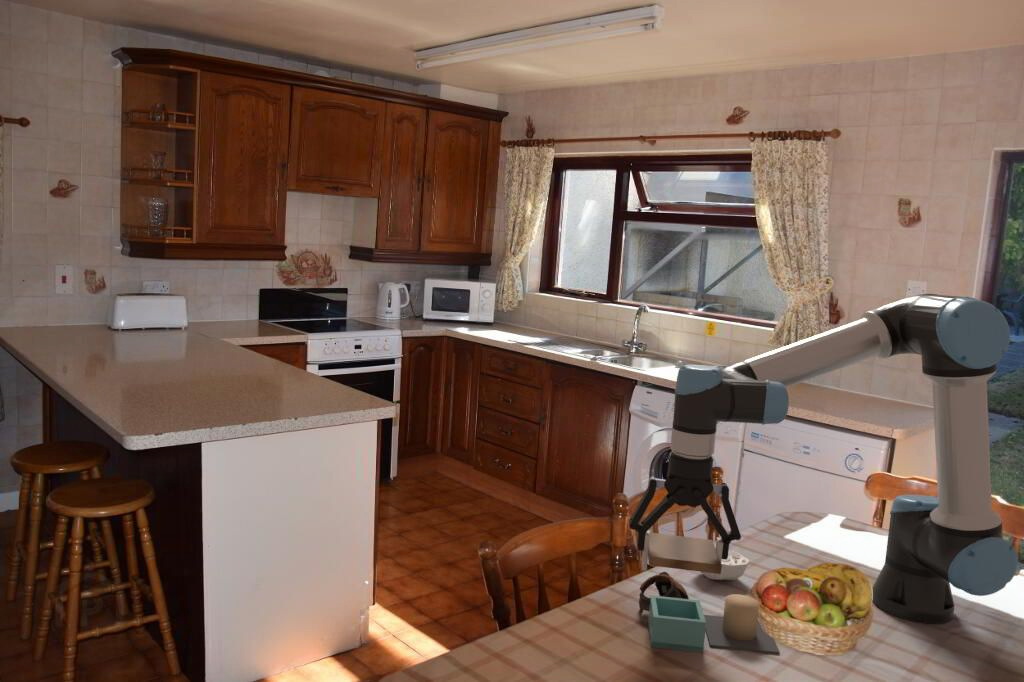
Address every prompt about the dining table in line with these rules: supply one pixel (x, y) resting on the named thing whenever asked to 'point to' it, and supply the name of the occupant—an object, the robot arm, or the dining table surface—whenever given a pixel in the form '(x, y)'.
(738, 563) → the cell model
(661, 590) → the pottery mug
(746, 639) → the mat stand
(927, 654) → the dining table surface
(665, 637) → the teal open box
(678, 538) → the lid
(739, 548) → the dining table surface
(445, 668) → the dining table surface
